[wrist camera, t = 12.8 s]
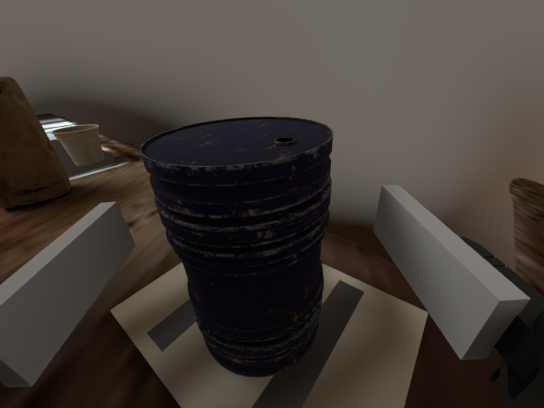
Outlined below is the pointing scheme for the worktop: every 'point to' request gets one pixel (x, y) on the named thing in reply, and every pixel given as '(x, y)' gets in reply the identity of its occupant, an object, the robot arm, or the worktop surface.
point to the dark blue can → (248, 232)
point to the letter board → (302, 376)
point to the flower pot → (81, 143)
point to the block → (26, 153)
